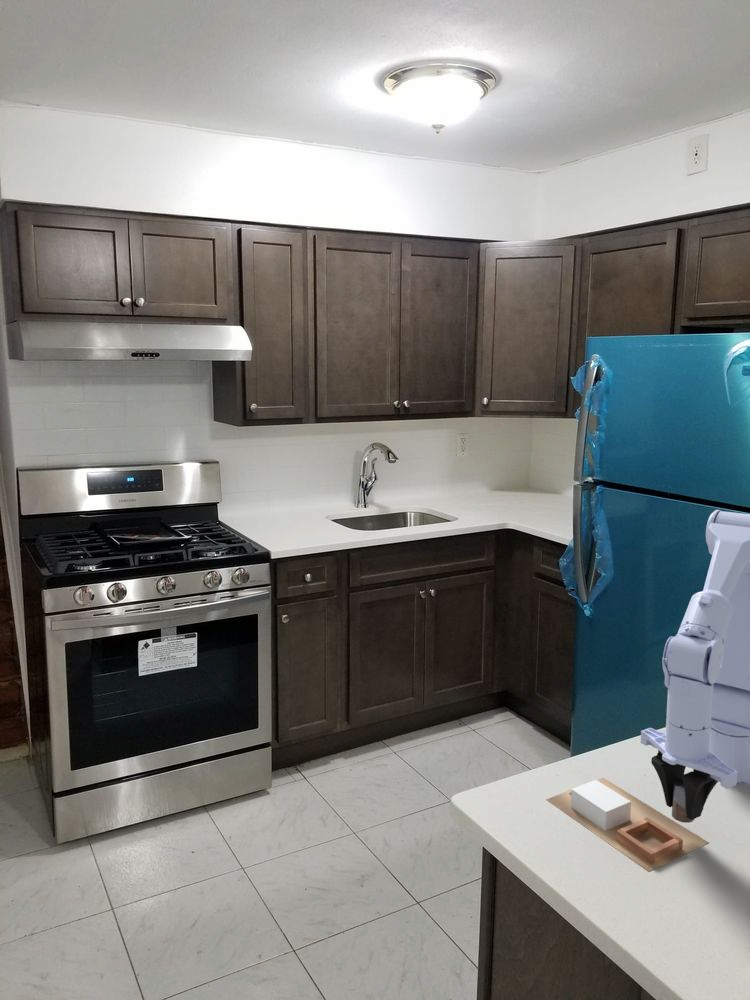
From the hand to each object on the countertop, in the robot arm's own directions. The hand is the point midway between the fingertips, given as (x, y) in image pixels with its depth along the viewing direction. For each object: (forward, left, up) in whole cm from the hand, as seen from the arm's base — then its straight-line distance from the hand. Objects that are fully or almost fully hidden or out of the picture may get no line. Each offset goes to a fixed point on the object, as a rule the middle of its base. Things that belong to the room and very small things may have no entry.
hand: (683, 810), depth 112 cm
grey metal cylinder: (0, 0, -1) cm, 1 cm away
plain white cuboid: (+6, -10, -4) cm, 12 cm away
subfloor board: (+4, -7, -5) cm, 10 cm away
